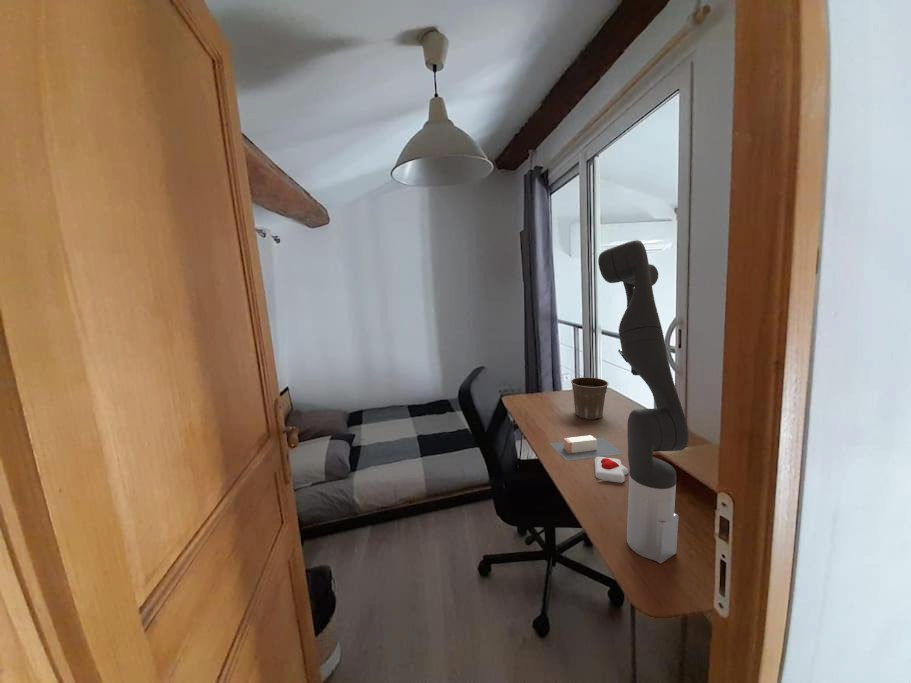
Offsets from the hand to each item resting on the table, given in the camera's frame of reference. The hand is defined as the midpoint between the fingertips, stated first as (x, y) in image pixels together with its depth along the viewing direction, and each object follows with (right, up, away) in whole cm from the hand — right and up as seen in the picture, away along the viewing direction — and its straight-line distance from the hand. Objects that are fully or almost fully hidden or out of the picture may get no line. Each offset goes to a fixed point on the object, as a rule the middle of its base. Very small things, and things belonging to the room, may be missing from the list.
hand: (635, 374), depth 120 cm
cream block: (-11, -26, +8) cm, 30 cm away
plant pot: (0, -23, +42) cm, 48 cm away
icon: (-12, -32, -8) cm, 35 cm away
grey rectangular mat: (-15, -29, +8) cm, 33 cm away
